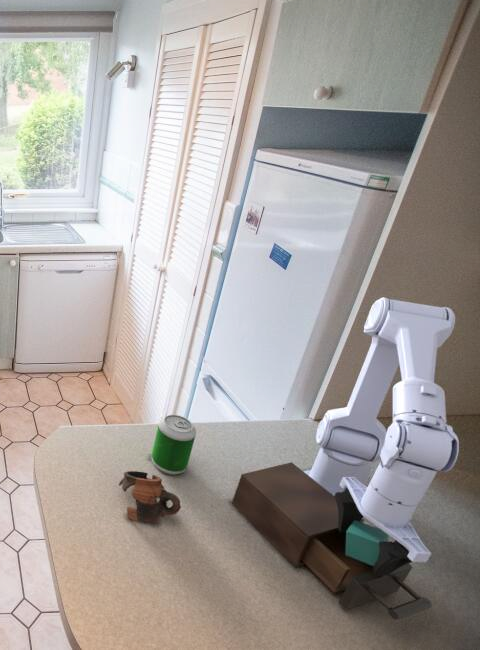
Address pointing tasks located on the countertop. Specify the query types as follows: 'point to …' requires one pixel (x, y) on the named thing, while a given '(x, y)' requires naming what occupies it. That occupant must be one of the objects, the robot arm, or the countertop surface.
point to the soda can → (173, 444)
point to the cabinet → (286, 508)
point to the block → (364, 542)
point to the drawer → (358, 576)
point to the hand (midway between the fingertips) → (361, 551)
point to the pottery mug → (148, 497)
